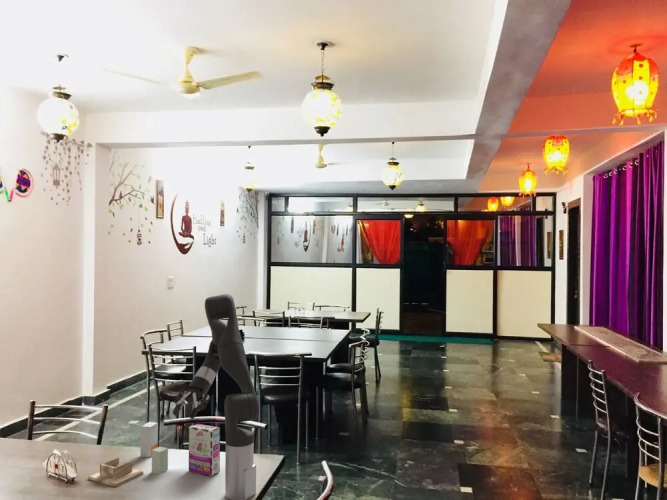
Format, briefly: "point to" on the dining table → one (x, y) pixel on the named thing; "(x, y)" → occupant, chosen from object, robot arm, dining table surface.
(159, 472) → the sage peg
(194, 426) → the candy bar box
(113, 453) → the dining table surface
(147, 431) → the skincare box
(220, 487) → the dining table surface
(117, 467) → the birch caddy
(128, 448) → the dining table surface
